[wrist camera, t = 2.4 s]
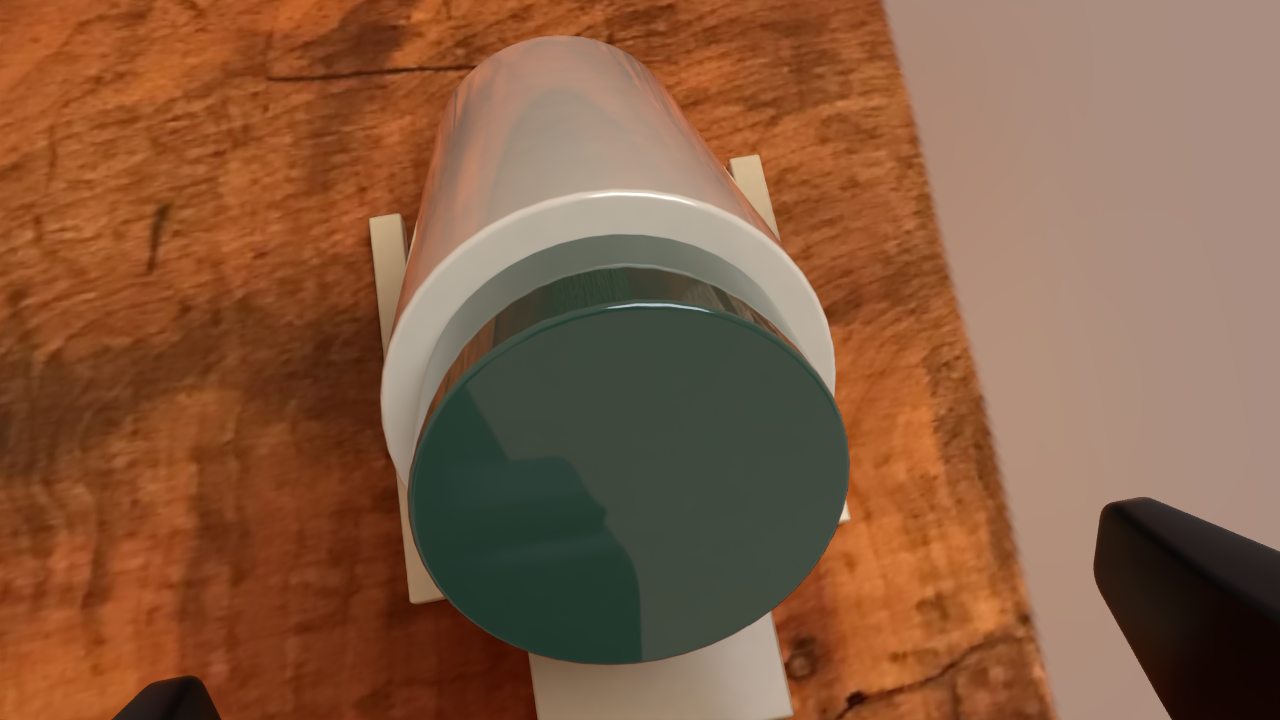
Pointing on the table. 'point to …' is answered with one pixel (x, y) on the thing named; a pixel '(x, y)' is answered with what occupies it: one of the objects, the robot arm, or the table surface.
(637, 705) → the jar stand
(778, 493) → the jar
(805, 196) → the table surface
